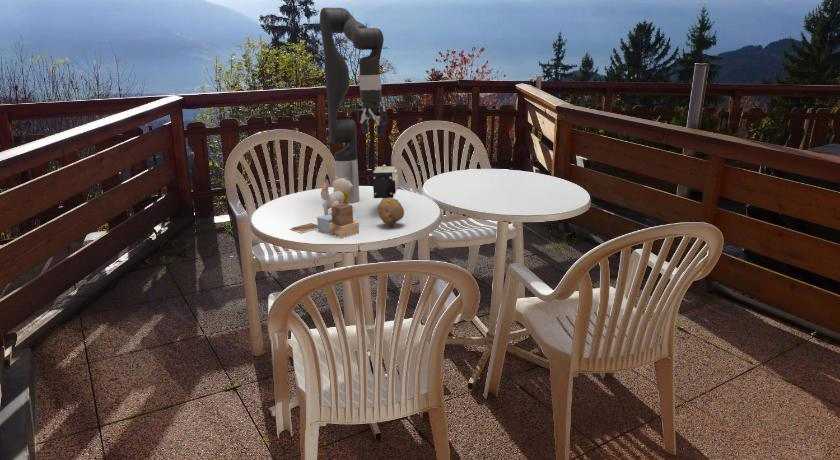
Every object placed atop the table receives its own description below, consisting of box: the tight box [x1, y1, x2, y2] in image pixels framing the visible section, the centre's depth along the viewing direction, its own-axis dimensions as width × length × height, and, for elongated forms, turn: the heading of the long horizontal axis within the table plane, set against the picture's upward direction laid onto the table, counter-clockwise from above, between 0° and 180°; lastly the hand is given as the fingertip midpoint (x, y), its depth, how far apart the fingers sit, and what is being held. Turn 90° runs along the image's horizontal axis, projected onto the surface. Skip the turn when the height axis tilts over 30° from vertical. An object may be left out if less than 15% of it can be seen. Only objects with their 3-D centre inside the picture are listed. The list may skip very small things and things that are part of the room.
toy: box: [320, 175, 353, 215], centre depth 214 cm, size 9×19×15 cm, turn 161°
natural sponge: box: [377, 197, 405, 227], centre depth 199 cm, size 9×9×10 cm
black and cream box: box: [372, 164, 400, 202], centre depth 218 cm, size 18×8×18 cm, turn 177°
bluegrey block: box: [316, 213, 332, 235], centre depth 196 cm, size 5×5×6 cm
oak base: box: [329, 220, 360, 239], centre depth 192 cm, size 7×7×4 cm
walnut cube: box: [330, 203, 354, 226], centre depth 191 cm, size 5×5×6 cm
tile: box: [289, 222, 318, 234], centre depth 200 cm, size 7×9×1 cm
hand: (372, 134), depth 205 cm, fingers open, 8 cm apart
